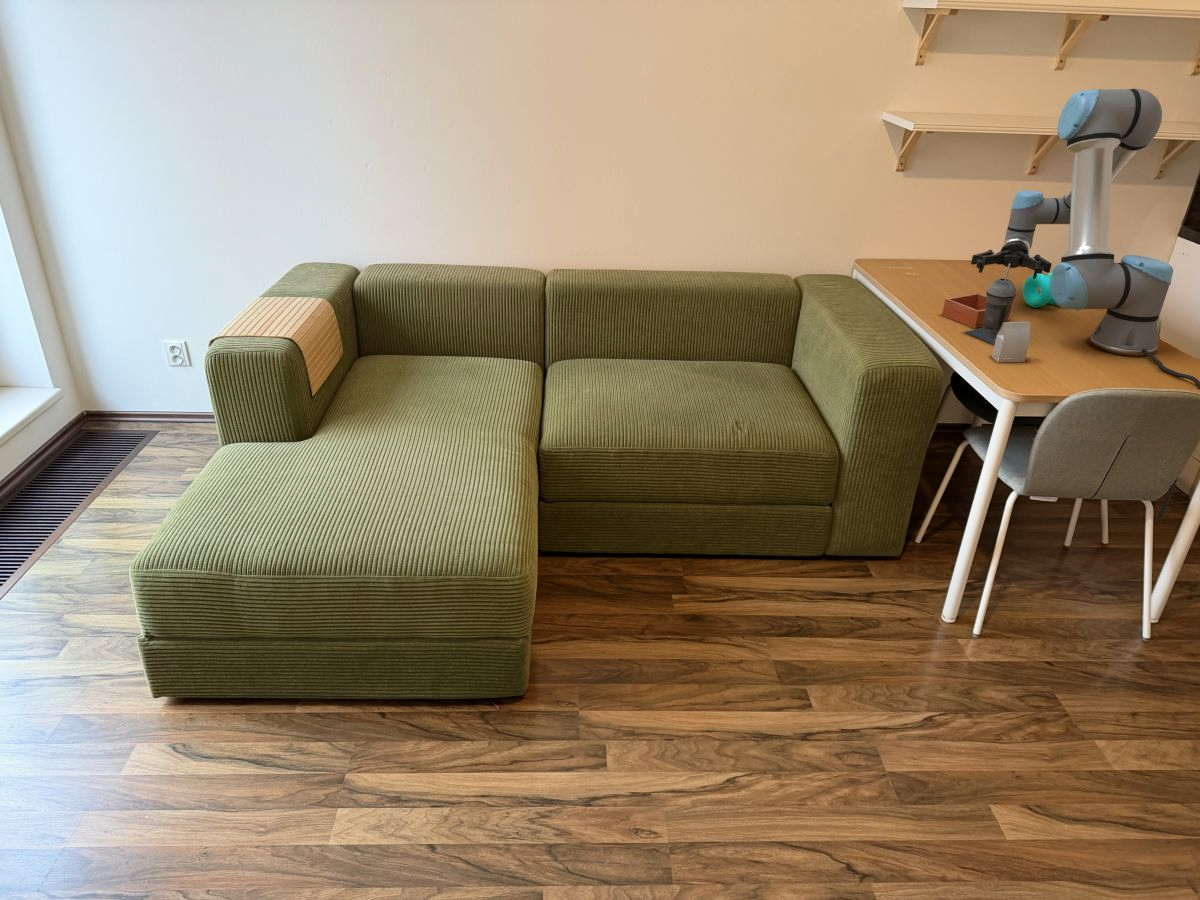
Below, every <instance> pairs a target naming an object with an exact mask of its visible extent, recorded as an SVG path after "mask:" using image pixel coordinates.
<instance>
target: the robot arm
mask: <svg viewBox="0 0 1200 900" xmlns="http://www.w3.org/2000/svg"><path fill="white" fill-rule="evenodd" d="M1162 120H1163V110H1162V105H1161V103H1160V101H1159V99H1158V98H1157V96H1155V95H1154V94H1153V93H1151V92H1150V91H1148V90H1146V89H1143V88H1093V89H1085V90H1083V89H1082V90H1078V91H1076V92H1075V93H1073V94H1072V95H1071V96H1070V97H1068V100H1066V102H1065V104H1064V106H1063V108H1062V110H1061V112H1060V114H1059V117H1058V121H1057V129H1056V130H1057V131H1056V132H1057V136H1058V138H1059V139H1060V140H1062V141H1064V142H1066V151H1067V152H1068V153H1070V154H1071V155H1072V168H1071V169H1072V171H1071V187H1070V188H1069V189H1068V191H1066V193H1065V194H1064V195H1063V197H1044V193H1043V192H1041V191H1040V190H1031V189H1030V190H1029V189H1025V190H1024V189H1023V190H1018V191H1017V192H1016V193H1015V195H1014V198H1013V201H1012V204H1011V209H1010V214H1009V220H1008V225H1007V228H1006V232H1005V237H1004V240H1003V244H1002V247H1001V249H1000V251H998V252H997V253H996V252H994V251H993V249H988V250H987V251H983V252H980V253H976V254H973V255H972V256H971V261H970V264H971V265H975V266H976V268H977V269H978V273H979V274H981V273H983V271H984V269H985V266H989V265H990V266H991V265H998V266H1000V265H1003V267H1006V268H1008V265H1009V264H1011V265H1010V268H1009V269H1016V268H1019V267H1020V268H1027V269H1030V270H1031V271H1033V274H1034V275H1033V274H1032V275H1033V279H1036V276H1037V274H1043V273H1046V274H1050V273H1052V275H1051V277H1050V290H1051V294H1052V297H1053V299H1054V301H1055V302H1056V303H1057V305H1056V306H1059V307H1060V308H1063V309H1066V310H1067V309H1068V310H1077V311H1081V310H1106V312H1105V315H1103V317H1102V318H1101V320H1100V321H1099V323H1098V324H1097V325H1096V327H1095V328H1094V330H1093V331H1092V333H1091V335H1090V338H1089V343H1090V344H1091V345H1092V346H1093V347H1095V348H1096V349H1098V350H1101V351H1104V352H1108V353H1110V354H1115V355H1121V356H1127V357H1128V356H1129V357H1145V356H1146V357H1148V359H1150V360H1151V361H1152V362H1154V363H1155V364H1156V365H1157V366H1158V367H1159V369H1160V370H1162V371H1163V372H1165V373H1167V374H1170V375H1172V376H1174V377H1177V378H1182V379H1186V380H1188V381H1189V380H1190V381H1191V382H1193V383H1194V384H1195V385H1196V387H1197V389H1198V390H1200V379H1198V378H1197V377H1195V376H1194V375H1190V374H1186V373H1181V372H1178V371H1175V370H1173V369H1171V368H1168V367H1166V366H1165V365H1164V363H1163V362H1162V361H1161V360H1160V359H1158V357H1156V356H1155V355H1154V354H1156V353H1157V350H1158V347H1159V331H1158V329H1159V328H1158V321H1159V318H1160V314H1161V311H1162V310H1163V306H1164V303H1165V300H1166V296H1167V294H1168V291H1169V289H1170V285H1172V279H1173V274H1174V268H1173V266H1172V265H1171V264H1169V263H1167V262H1165V261H1163V260H1160V259H1157V258H1153V257H1150V256H1144V255H1137V254H1126V255H1123V256H1122V258H1121V259H1120V262H1115V253H1114V252H1113V251H1112V250H1111V249H1109V232H1110V229H1109V228H1110V213H1111V212H1110V210H1111V197H1112V196H1111V195H1112V194H1111V193H1112V181H1114V178H1116V176H1117V175H1118V174H1119V173H1120V172H1121V171H1122V169H1123V168H1124V167H1126V165H1127V164H1128V162H1129V161H1130V160H1131V159H1132V158H1133V157H1134V155H1135V154H1136V153H1138V151H1142V150H1144V149H1145V148H1147V147H1148V145H1149V144H1150V143H1151V142H1152V141H1153V140H1154V138H1155V137H1156V136H1157V134H1158V132H1159V130H1160V127H1161V125H1162ZM1037 225H1069V232H1068V250H1067V251H1066V252H1065V253H1064V254H1063V255H1062V256H1061V259H1060V262H1059V263H1058V264H1056V265H1055V266H1054V267H1053V269H1052V271H1051V268H1052V265H1053V264H1052V262H1050V261H1049V260H1047V259H1045V258H1043V257H1042V256H1041V255H1040V254H1038V253H1037V254H1035V255H1033V256H1030V251H1031V249H1032V246H1033V241H1034V235H1035V231H1036V228H1037ZM1178 479H1179V477H1178V478H1177V479H1176V480H1175V481H1174V483H1173V484H1172V485H1171V486H1170V485H1169V487H1170V488H1168V489H1167V492H1166V494H1165V497H1164V500H1163V502H1162V504H1161V508H1160V510H1159V513H1158V515H1157V518H1156V521H1155V523H1156V524H1159V525H1160V524H1161V523H1162V520H1163V517H1164V514H1165V512H1166V509H1167V507H1168V504H1169V502H1170V500H1171V497H1172V494H1173V491H1174V489H1175V487H1176V485H1177V482H1178Z"/></svg>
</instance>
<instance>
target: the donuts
mask: <svg viewBox="0 0 1200 900" xmlns="http://www.w3.org/2000/svg"><path fill="white" fill-rule="evenodd" d="M1033 275H1034V273H1033V274H1031V275H1029V276H1028V277H1027V278H1026V279H1025V280H1024V282H1023V285H1022V289H1021V290H1022V291H1021V293H1022V298H1023V300H1024V302H1025V303H1026V304H1027V305H1028V306H1029V307H1032V308H1041V307H1044V306H1046V304H1049V305H1052V306H1058V305H1057V303H1056V302H1055V301H1054V299H1053V297H1052V294H1051V290H1050V277H1051V275H1052V272H1049V273H1047V275H1046V274H1043V273H1042V274H1039V273H1037V276H1036V279H1033ZM1039 289H1040V291H1039Z"/></svg>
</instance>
